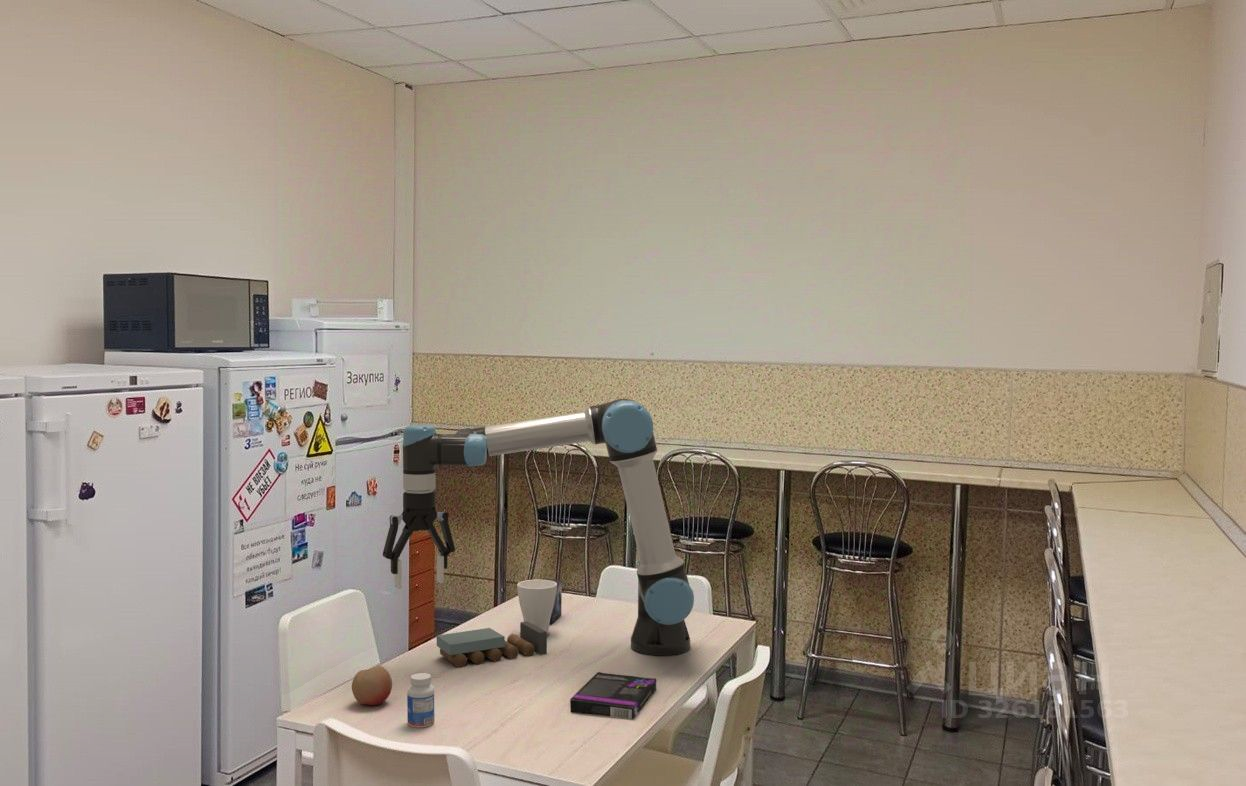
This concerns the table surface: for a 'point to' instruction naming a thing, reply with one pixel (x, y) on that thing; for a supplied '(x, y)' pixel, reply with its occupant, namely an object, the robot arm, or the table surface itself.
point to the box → (613, 695)
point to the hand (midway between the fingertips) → (419, 584)
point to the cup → (537, 601)
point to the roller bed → (493, 652)
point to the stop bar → (534, 636)
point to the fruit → (372, 686)
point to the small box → (556, 601)
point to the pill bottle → (420, 701)
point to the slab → (470, 641)
